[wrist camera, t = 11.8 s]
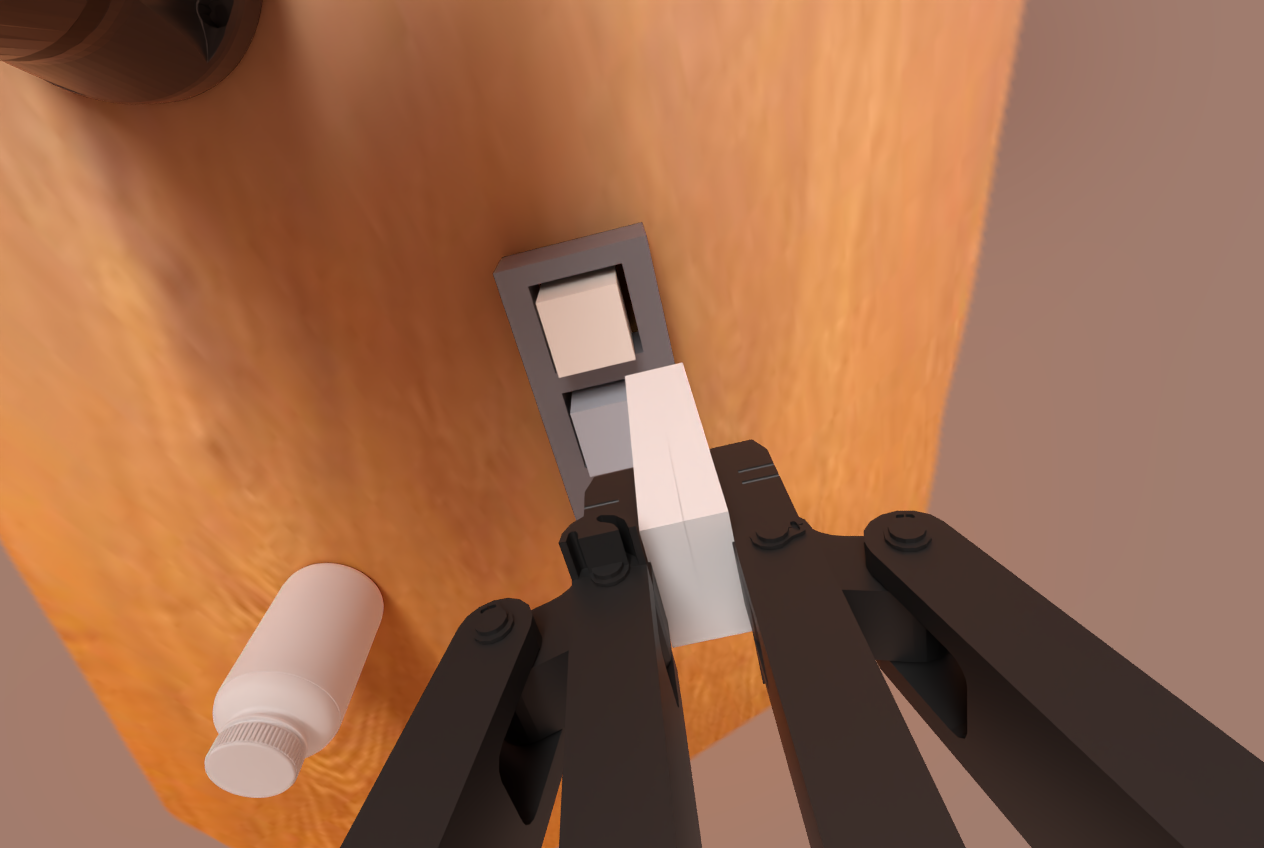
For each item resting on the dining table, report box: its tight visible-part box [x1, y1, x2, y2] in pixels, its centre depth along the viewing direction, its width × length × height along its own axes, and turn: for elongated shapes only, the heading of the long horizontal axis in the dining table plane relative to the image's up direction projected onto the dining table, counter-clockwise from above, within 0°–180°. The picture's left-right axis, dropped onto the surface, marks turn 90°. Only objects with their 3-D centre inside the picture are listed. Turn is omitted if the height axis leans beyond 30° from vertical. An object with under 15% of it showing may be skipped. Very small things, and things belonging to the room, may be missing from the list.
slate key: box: [570, 379, 633, 477], centre depth 42 cm, size 5×5×4 cm
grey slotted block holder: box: [493, 222, 675, 521], centre depth 44 cm, size 9×22×4 cm, turn 13°
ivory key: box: [536, 265, 636, 378], centre depth 39 cm, size 5×5×4 cm
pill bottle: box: [205, 563, 384, 798], centre depth 46 cm, size 8×8×15 cm
